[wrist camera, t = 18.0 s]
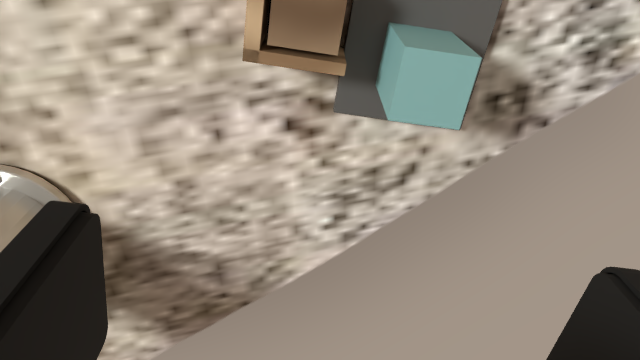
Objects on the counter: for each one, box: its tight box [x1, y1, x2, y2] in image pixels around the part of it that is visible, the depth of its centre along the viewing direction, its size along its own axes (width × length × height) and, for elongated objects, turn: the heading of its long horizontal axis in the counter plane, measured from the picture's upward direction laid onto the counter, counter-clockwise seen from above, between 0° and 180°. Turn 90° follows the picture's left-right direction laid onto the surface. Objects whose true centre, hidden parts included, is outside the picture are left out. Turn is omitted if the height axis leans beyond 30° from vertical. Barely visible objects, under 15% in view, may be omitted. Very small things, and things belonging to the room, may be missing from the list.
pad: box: [334, 0, 502, 130], centre depth 34 cm, size 10×10×1 cm
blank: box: [376, 22, 482, 130], centre depth 31 cm, size 4×4×7 cm
